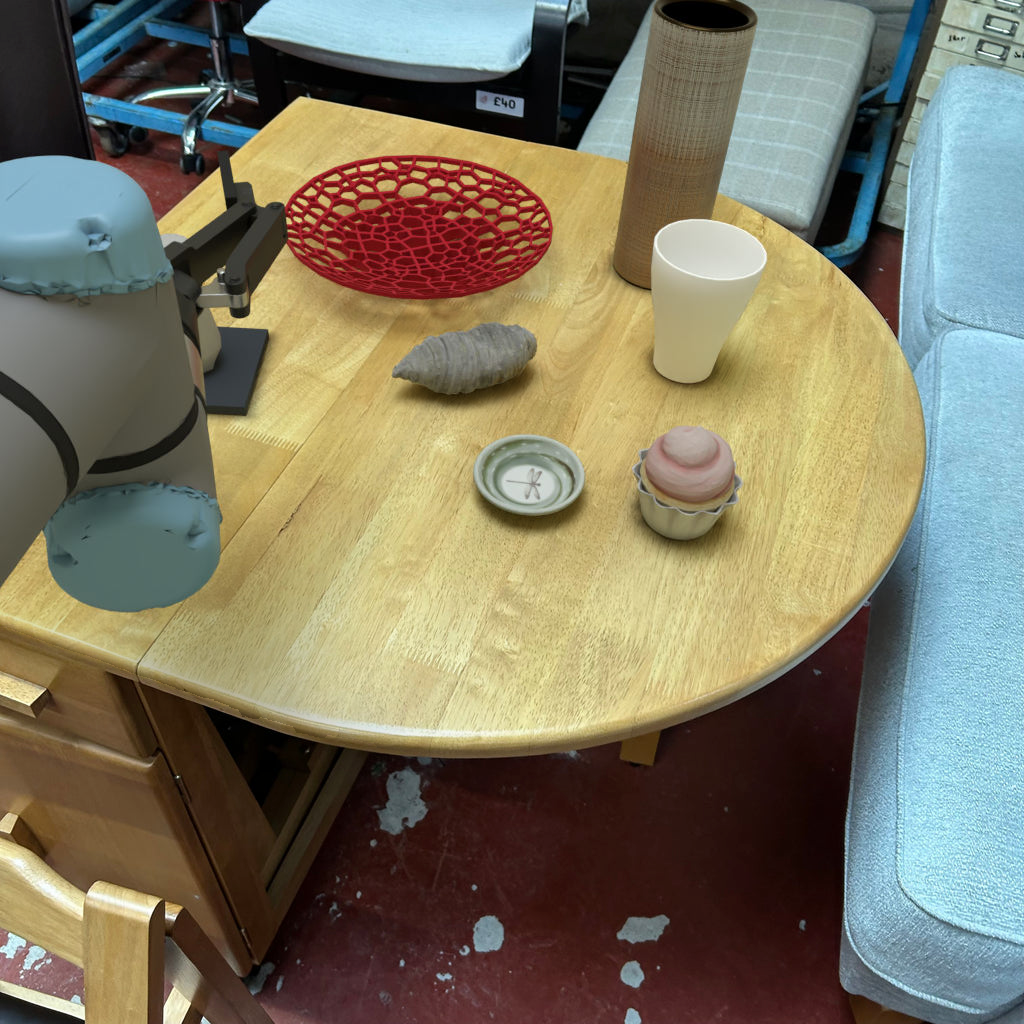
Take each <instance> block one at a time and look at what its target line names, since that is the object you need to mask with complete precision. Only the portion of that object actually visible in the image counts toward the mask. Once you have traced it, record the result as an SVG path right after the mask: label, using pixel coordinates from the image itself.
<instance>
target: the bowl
mask: <svg viewBox="0 0 1024 1024" xmlns="http://www.w3.org/2000/svg"><path fill="white" fill-rule="evenodd" d="M403 162H404V163H403ZM405 162H407V163H405ZM409 162H410V163H409ZM417 162H419V163H421V162H423V163H436V164H437V165H436V166H433V167H425V166H421V165H419V164H417ZM382 163H391V164H393V165H394V166H396V167H397V168H396V169H389V168H386V167H384V166H382V165H383V164H382ZM376 164H377V165H378V167H377V168H375V169H373V170H361V167H365V166H371V165H376ZM442 164H445V165H452V166H457V167H459V168H458V169H450V170H448V169H446V168H443V167H441V165H442ZM464 168H465V169H464ZM466 168H469V169H466ZM353 169H356V171H354V172H350V173H345V172H346V171H349V170H353ZM475 170H477V171H480V172H483V173H486V174H489V175H492V177H491V178H487V177H481V176H480V175H478V173H476V171H475ZM413 172H417V173H423V174H425V176H424V177H423V178H419V177H414V176H412V175H411V174H412V173H413ZM335 175H338V176H339V177H340V178H339V180H326V179H328V178H330V177H332V176H335ZM399 177H406V178H402V179H400V178H399ZM461 177H471V178H472V179H473V180H474V181H475V182H476V183H475V184H465V183H464V182H463V180H461ZM496 177H497V178H499V179H500V180H497V179H496ZM366 178H373V180H369V179H366ZM436 179H439V180H440V181H443V182H444V185H431V183H430V181H431V180H436ZM501 180H503V181H501ZM384 181H393V182H395V183H396V186H395V187H394V189H393V190H384V191H382V190H380V189H379V188H378V186H377V185H378V184H379V183H380V182H384ZM504 181H505V182H504ZM318 183H319V184H320V186H319V185H318ZM345 183H346V184H347V185H345V186H344V184H345ZM451 183H455V184H457V186H458V187H459V188H460V189H459V190H458V191H457V190H456V189H454V188H452V187H450V186H449V184H451ZM410 184H414V185H415V184H416V185H420V186H424V188H426V191H425V192H424V193H423V194H422V195H416V196H409V197H404V196H402V195H401V194H399V193H400V191H401V189H402V188H403V187H404V186H408V185H410ZM361 185H362V186H364V187H367V188H370V189H372V191H363V192H362V191H361V190H360V189H358V187H360V186H361ZM481 185H483V186H491V187H489V188H487V189H484V188H482V187H481ZM328 188H329V189H330V188H331V189H332V188H338V190H337V191H336V192H329V191H327V190H325V189H328ZM310 189H313V190H315V191H316V194H312V195H311V194H310V195H306V194H305V193H306V192H308V191H309V190H310ZM505 191H509V192H505ZM517 191H522V192H523V193H524V194H526V195H522V194H520V193H519V194H518V193H517ZM465 192H467V193H468V192H475V193H477V194H478V195H476V196H474V197H473V198H472V197H469V196H467V195H465ZM344 193H345V194H346V193H353V194H354V195H355V196H356V197H355V199H353V198H347V197H342V195H343V194H344ZM444 193H445V194H447V195H448V196H450V199H449V200H436V199H434V198H432V197H431V196H432V195H436V194H444ZM321 196H323V197H325V198H327V199H328V200H329V201H330V204H329V206H328V207H327V206H325V205H324V204H323V203H321V202H319V199H320V197H321ZM298 199H301V200H303V201H306V202H307V204H306V205H304V204H302V202H300V201H299V200H298ZM484 199H490V200H494V201H496V202H497V203H499V204H498V205H497V206H496V207H484V206H483V205H482V204H480V203H481V202H482V201H483V200H484ZM363 201H379V203H380V204H379V205H377V206H376V207H374V208H367V209H366V208H365V209H361V208H360V207H359V205H360V204H361V203H362V202H363ZM530 201H534V202H535V203H534V204H533V205H528V206H526V205H525V206H521V203H525V202H530ZM458 202H460V203H461V204H460V203H458ZM421 205H424V206H423V207H422V206H421ZM292 206H295V207H297V208H298V209H299V210H300V211H296V210H295V209H294V208H293V207H292ZM340 206H345V207H350V208H353V210H354V211H353V212H351V213H349V214H347V215H343V214H342V213H339V212H337V211H335V210H334V208H336V207H340ZM504 207H512V208H515V210H517V211H516V212H515V213H513V214H503V213H502V211H501V210H502V209H503V208H504ZM312 209H317V210H321V211H322V212H323V213H322V214H321V215H320V214H318V213H317V212H316V211H314V210H312ZM471 209H472V210H474V211H476V212H477V213H479V214H480V215H481V216H475V217H470V216H467V215H466V214H465V213H466V212H467V211H469V210H471ZM285 212H286V218H288V219H290V221H291V223H287V230H288V241H287V243H286V244H285V245H287V247H288V249H289V250H290V251H291V253H292V254H293V256H294V257H295V258H296V259H297V261H299V262H300V263H301V264H302V265H304V266H305V267H306V268H308V269H309V270H311V271H312V272H313V273H314V274H316V275H317V276H319V277H321V278H322V279H323V278H324V279H325V280H328V281H330V282H332V283H334V284H336V285H339V286H340V287H344V288H347V289H351V290H354V291H356V292H360V293H364V294H367V295H374V296H378V297H384V298H389V299H399V300H417V301H418V300H419V301H428V300H442V299H457V298H464V297H468V296H473V295H476V294H477V295H478V294H481V293H485V292H489V291H492V290H493V291H494V290H495V289H497V288H500V287H502V286H504V285H507V284H510V283H512V282H515V281H517V280H519V279H520V278H522V277H523V276H524V275H525V274H527V273H528V272H529V271H531V270H532V269H534V267H536V266H537V265H539V263H540V261H542V259H543V258H544V257H545V255H546V254H547V252H548V250H549V248H550V246H551V244H552V239H553V232H554V225H553V220H552V216H551V212H550V210H549V208H548V207H547V206H546V204H545V202H544V201H543V199H542V198H541V197H540V196H538V194H537V193H535V192H534V191H532V190H531V188H529V187H528V186H526V185H525V184H524V183H523V182H521V181H520V180H519V179H518V178H515V177H513V176H511V175H509V174H507V173H505V172H503V171H500V170H499V169H496V168H493V167H490V166H487V165H485V164H481V163H478V162H475V161H471V160H465V159H458V158H453V157H447V156H439V155H425V154H423V155H422V154H405V155H404V154H399V155H398V154H397V155H381V156H375V157H370V158H364V159H357V160H354V161H351V162H347V163H344V164H340V165H337V166H334V167H332V168H330V169H327V170H326V171H324V172H321V173H319V174H317V175H315V176H313V177H312V178H311V179H309V180H307V182H306V183H305V184H303V185H302V186H301V187H299V188H298V189H297V190H295V192H294V193H293V194H291V196H290V197H289V199H288V201H287V203H286V204H285ZM449 212H454V213H459V215H458V216H456V217H455V218H453V219H452V218H449V217H446V214H448V213H449ZM386 213H388V214H389V215H385V214H386ZM529 213H531V215H530V216H529V217H528V218H524V219H522V218H521V217H520V215H522V214H529ZM541 214H544V216H542V218H541V219H540V220H536V221H534V220H535V218H537V216H538V215H541ZM307 215H308V216H310V217H311V218H313V219H314V220H316V221H315V222H314V223H312V222H310V221H308V220H306V216H307ZM383 215H385V216H383ZM487 216H496V218H495V219H494V220H492V221H491V220H489V219H488V218H487ZM294 218H299V219H300V220H301V221H300V222H298V221H296V220H295V219H294ZM329 218H332V219H333V220H335V221H333V220H331V219H329ZM533 221H534V222H533ZM546 221H547V225H548V226H546V227H544V226H542V225H543V224H544V223H545V222H546ZM510 222H511V223H512V222H516V223H517V224H519V225H518V227H517V228H512V229H508V230H504V231H503V229H501V228H499V226H500V225H501V224H502V223H510ZM323 225H324V226H326V227H328V228H329V229H331V230H323V229H322V228H321V227H322V226H323ZM345 227H347V228H348V229H347V228H345ZM306 228H308V229H309V230H306ZM528 231H529V232H528ZM537 232H539V233H537ZM489 233H491V234H492V235H494V236H493V237H487V238H480V237H482V236H483V235H487V234H489ZM515 236H517V237H516V238H514V239H510V238H513V237H515ZM334 238H335V239H337V240H339V241H341V242H338V241H334V240H330V239H334ZM292 239H295V240H299V242H296V241H294V240H292ZM310 239H311V240H312V241H314V242H316V243H317V244H320V245H322V246H323V248H319V247H318V248H317V247H313V246H312V245H310V244H309V243H306V241H305V240H310ZM541 239H548V240H546V241H544V242H542V243H540V244H537V243H536V244H535V243H533V242H535V241H539V240H541ZM522 242H526V243H527V242H528V245H526V246H524V247H521V248H517V247H515V246H518V245H520V243H522ZM504 247H506V249H504V250H501V251H499V252H498V250H500V249H501V248H504ZM296 249H298V250H299V251H300V252H302V253H300V252H297V250H296ZM328 249H331V250H334V251H337V252H340V253H342V255H344V256H345V257H347V258H341V259H340V258H339V257H338V256H336V255H335V254H334V253H332V252H331V251H329V250H328ZM483 249H487V250H484V251H481V250H483ZM528 251H533V252H532V253H529V254H527V255H524V254H525V253H527V252H528ZM522 255H524V256H522ZM509 256H514V257H513V258H512V259H511V260H507V261H503V262H499V263H497V262H498V261H500V260H502V259H504V258H507V257H509ZM535 258H536V259H535ZM314 259H315V260H318V261H320V262H321V263H323V264H320V263H318V262H316V261H315V260H314ZM339 268H340V269H339Z"/></svg>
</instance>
